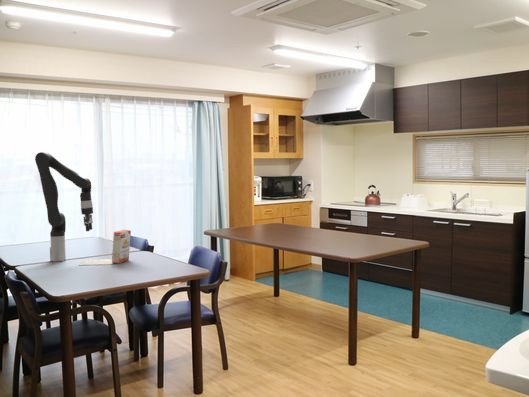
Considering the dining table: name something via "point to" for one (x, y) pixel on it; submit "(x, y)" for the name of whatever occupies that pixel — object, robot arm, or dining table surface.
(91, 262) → the mat
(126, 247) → the cracker box
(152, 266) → the dining table surface
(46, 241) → the dining table surface
